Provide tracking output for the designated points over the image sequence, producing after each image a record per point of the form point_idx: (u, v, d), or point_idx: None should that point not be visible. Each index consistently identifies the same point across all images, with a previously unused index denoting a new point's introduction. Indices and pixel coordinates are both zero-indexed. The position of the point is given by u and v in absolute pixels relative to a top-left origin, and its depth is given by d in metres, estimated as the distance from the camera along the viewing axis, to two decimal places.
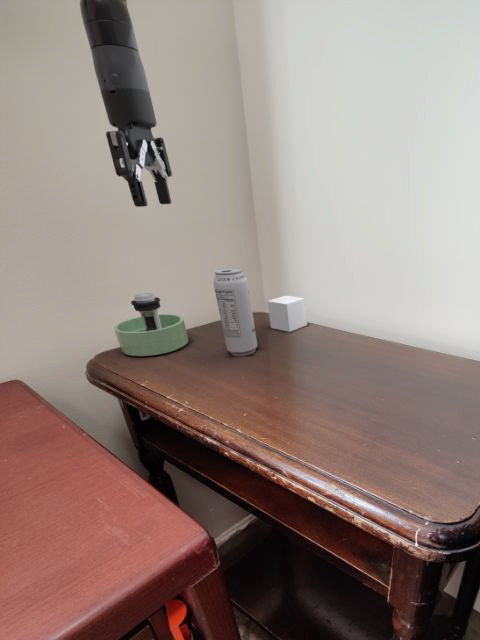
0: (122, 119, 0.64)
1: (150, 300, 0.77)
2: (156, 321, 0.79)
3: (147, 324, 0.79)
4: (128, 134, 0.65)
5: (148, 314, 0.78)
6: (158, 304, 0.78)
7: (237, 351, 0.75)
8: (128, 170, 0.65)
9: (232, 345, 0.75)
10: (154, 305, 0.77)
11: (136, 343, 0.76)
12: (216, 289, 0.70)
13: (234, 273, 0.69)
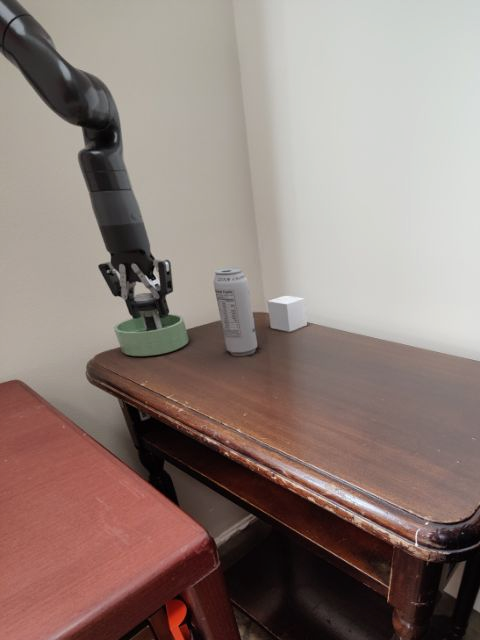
0: None
1: (150, 300, 0.77)
2: (156, 321, 0.79)
3: (147, 324, 0.79)
4: None
5: (148, 314, 0.78)
6: None
7: (237, 351, 0.75)
8: (112, 293, 0.77)
9: (232, 345, 0.75)
10: (154, 305, 0.77)
11: (136, 343, 0.76)
12: (216, 289, 0.70)
13: (234, 273, 0.69)
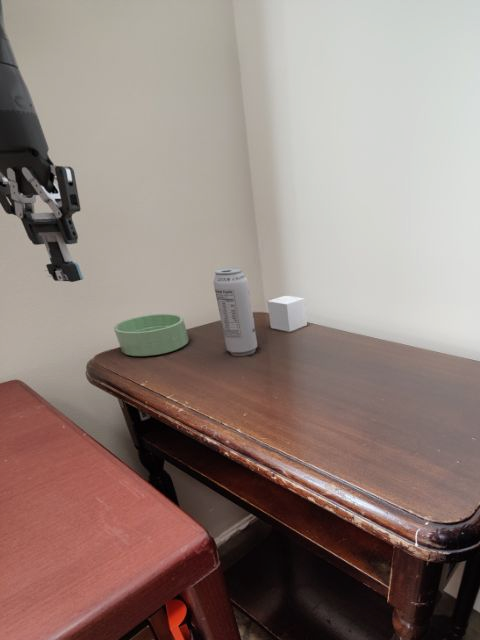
0: None
1: (51, 219, 0.62)
2: (62, 248, 0.65)
3: (51, 252, 0.65)
4: None
5: (51, 238, 0.64)
6: None
7: (237, 351, 0.75)
8: None
9: (232, 345, 0.75)
10: (57, 226, 0.63)
11: (136, 343, 0.76)
12: (216, 289, 0.70)
13: (234, 273, 0.69)
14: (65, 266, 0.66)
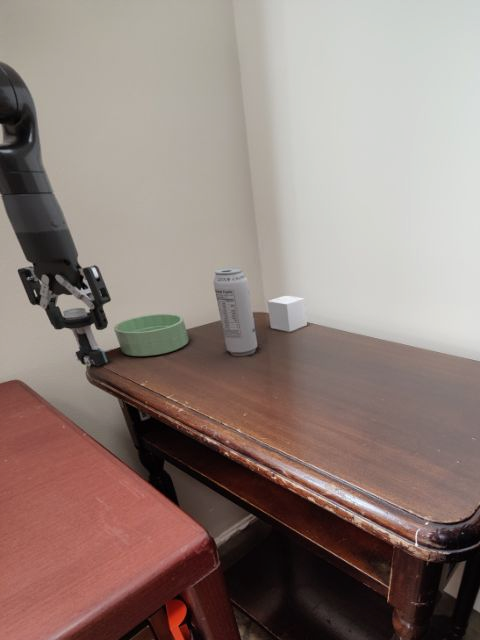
0: None
1: (80, 316, 0.70)
2: (89, 339, 0.72)
3: (80, 342, 0.73)
4: (33, 270, 0.66)
5: (80, 331, 0.72)
6: (90, 320, 0.71)
7: (237, 351, 0.75)
8: (30, 301, 0.69)
9: (232, 345, 0.75)
10: (85, 322, 0.70)
11: (136, 343, 0.76)
12: (216, 289, 0.70)
13: (234, 273, 0.69)
14: (92, 354, 0.73)
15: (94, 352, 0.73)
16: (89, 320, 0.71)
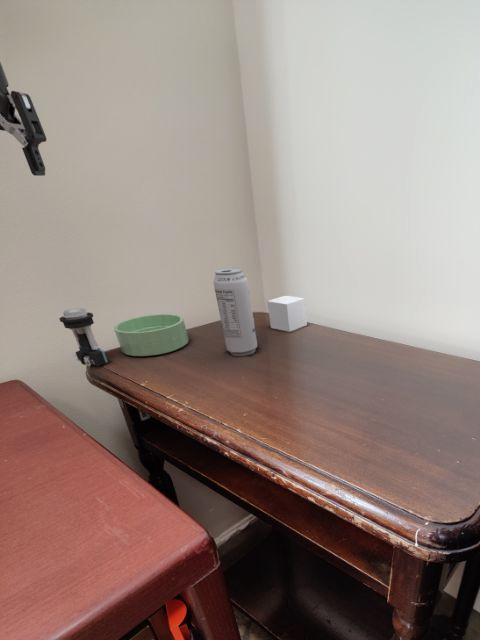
0: None
1: (80, 316, 0.70)
2: (89, 339, 0.72)
3: (80, 342, 0.73)
4: None
5: (80, 331, 0.72)
6: (90, 320, 0.71)
7: (237, 351, 0.75)
8: None
9: (232, 345, 0.75)
10: (85, 322, 0.70)
11: (136, 343, 0.76)
12: (216, 289, 0.70)
13: (234, 273, 0.69)
14: (92, 354, 0.73)
15: (94, 352, 0.73)
16: (89, 320, 0.71)
